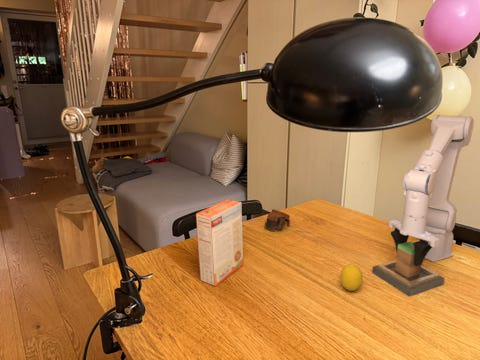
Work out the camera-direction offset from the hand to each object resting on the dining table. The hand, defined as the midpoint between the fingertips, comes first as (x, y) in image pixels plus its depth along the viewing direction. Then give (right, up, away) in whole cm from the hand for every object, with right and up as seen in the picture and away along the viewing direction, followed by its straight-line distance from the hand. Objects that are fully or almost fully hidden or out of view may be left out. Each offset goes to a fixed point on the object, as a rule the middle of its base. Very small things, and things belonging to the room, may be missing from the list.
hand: (409, 259), depth 96 cm
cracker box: (-53, -6, +6) cm, 53 cm away
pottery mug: (-33, +3, +37) cm, 49 cm away
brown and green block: (0, -4, +1) cm, 4 cm away
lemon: (-18, -8, -4) cm, 20 cm away
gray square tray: (0, -6, +2) cm, 6 cm away
